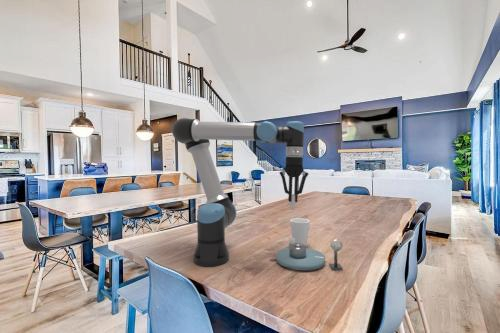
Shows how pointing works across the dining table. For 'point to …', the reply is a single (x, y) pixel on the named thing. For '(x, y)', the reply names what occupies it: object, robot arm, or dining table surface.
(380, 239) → the dining table surface
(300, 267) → the turntable
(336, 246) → the dial stand
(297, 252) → the cover
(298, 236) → the foam cup
